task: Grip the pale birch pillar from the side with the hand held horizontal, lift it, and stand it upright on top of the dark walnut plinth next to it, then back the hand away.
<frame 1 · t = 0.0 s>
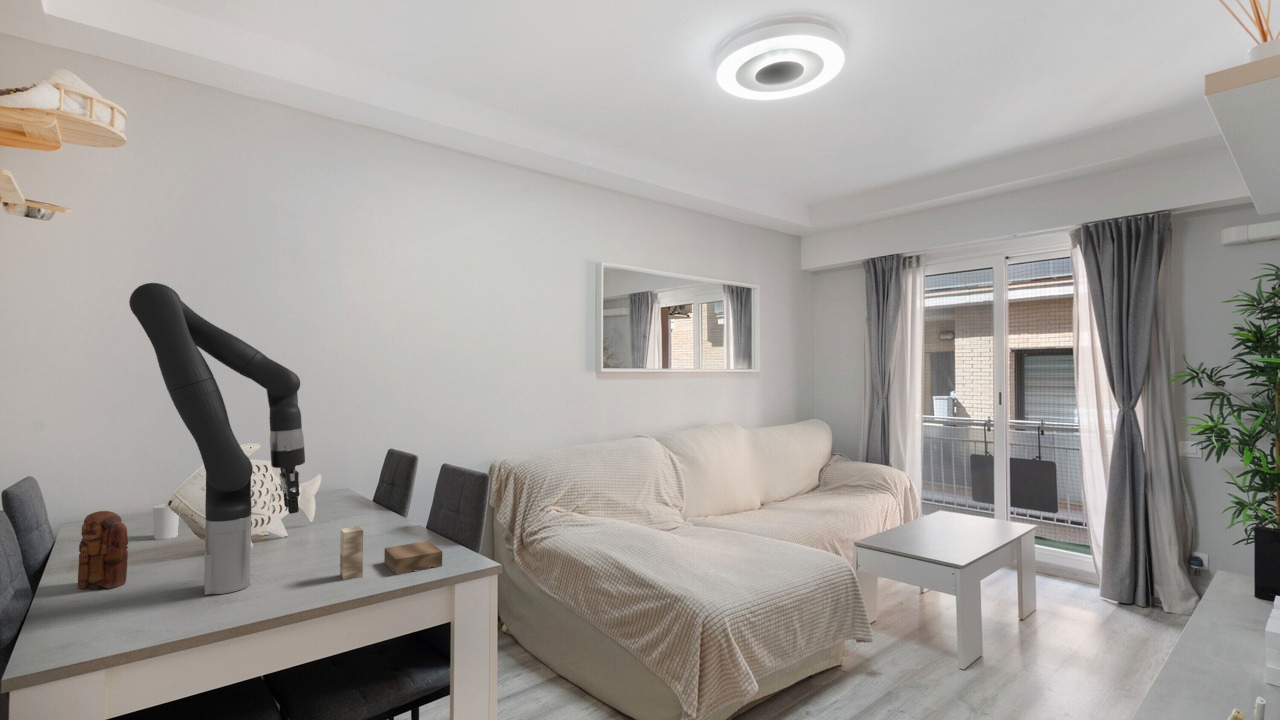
hand: (291, 509, 153), 17 cm above the table, tool pointing down, fingers open, 8 cm apart
drinking glass: (166, 537, 187), on the table
wooden figurine: (100, 586, 146), on the table
walnut plinth: (413, 564, 162), on the table
birch pillar: (351, 576, 153), on the table
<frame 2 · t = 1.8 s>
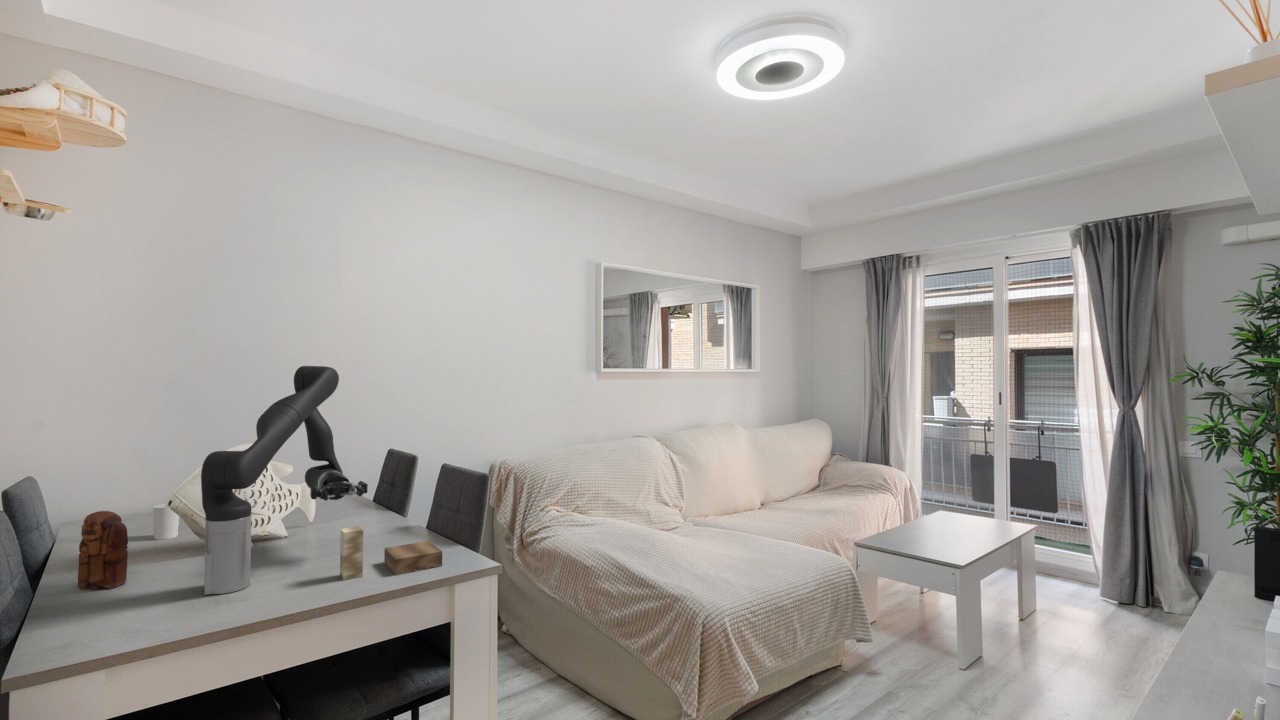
hand: (343, 494, 163), 19 cm above the table, tool horizontal, fingers open, 8 cm apart
nothing on the table moved.
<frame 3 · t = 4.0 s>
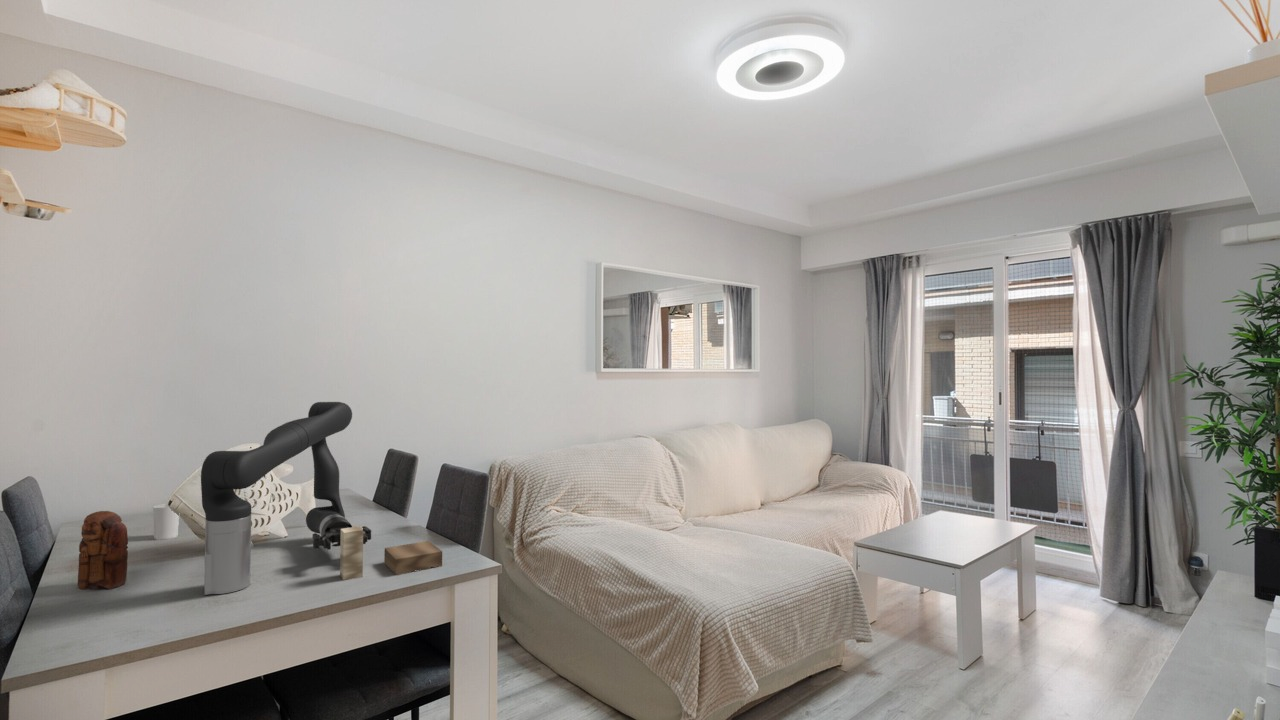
hand: (347, 543, 158), 7 cm above the table, tool horizontal, fingers open, 8 cm apart
nothing on the table moved.
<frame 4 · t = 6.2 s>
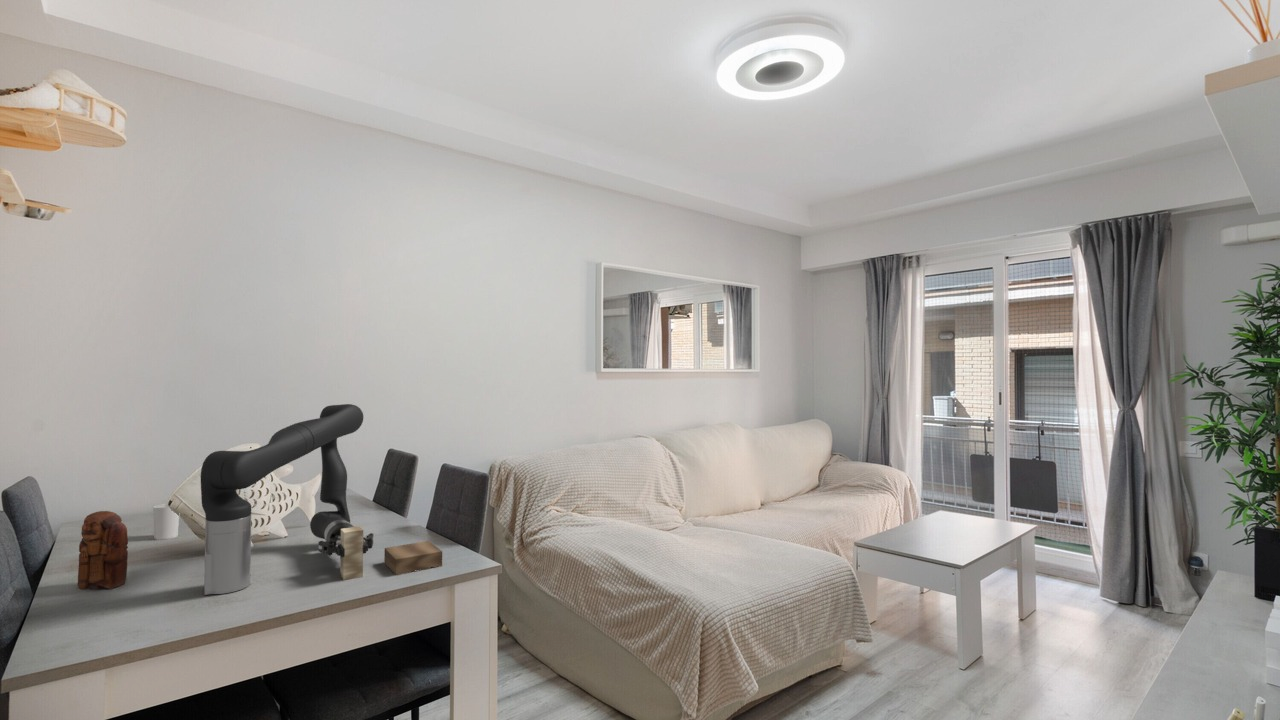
hand: (354, 551, 151), 7 cm above the table, tool horizontal, fingers closed on birch pillar, 4 cm apart
birch pillar: (351, 575, 153), on the table, touching gripper
everything else where it was.
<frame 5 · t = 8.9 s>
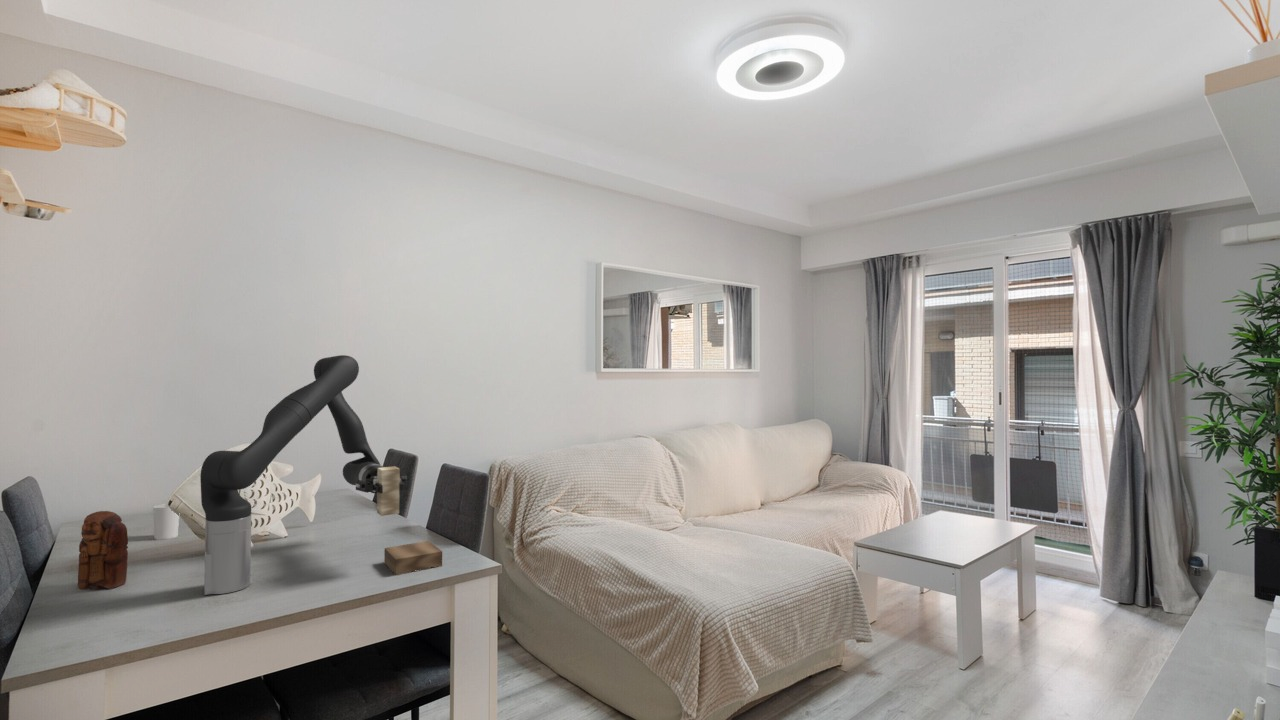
hand: (391, 488, 157), 22 cm above the table, tool horizontal, fingers closed on birch pillar, 4 cm apart
birch pillar: (388, 512, 159), point 15 cm above the table, touching gripper
everything else where it was.
when the fingers open (12 cm above the table, at t = 12.0 s): birch pillar drops 1 cm, resting on walnut plinth.
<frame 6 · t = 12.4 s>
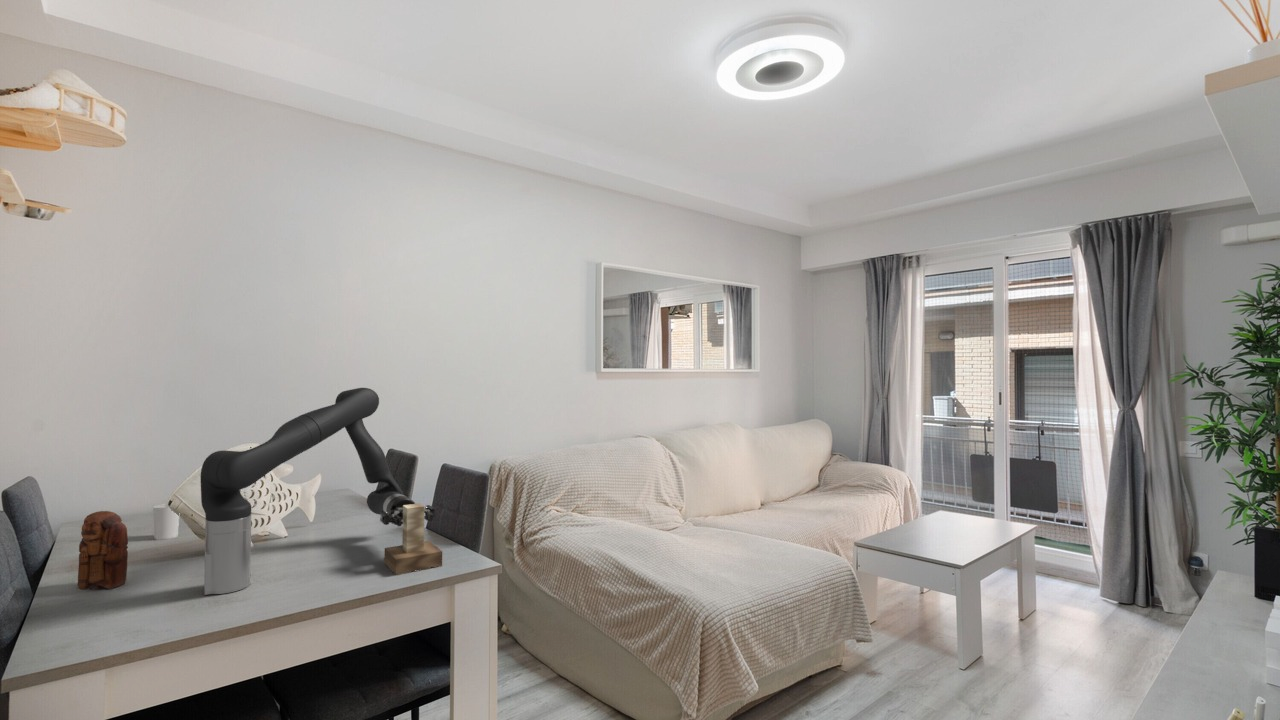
hand: (415, 520, 161), 13 cm above the table, tool horizontal, fingers open, 7 cm apart
birch pillar: (413, 549, 163), point 4 cm above the table, touching walnut plinth
everything else where it was.
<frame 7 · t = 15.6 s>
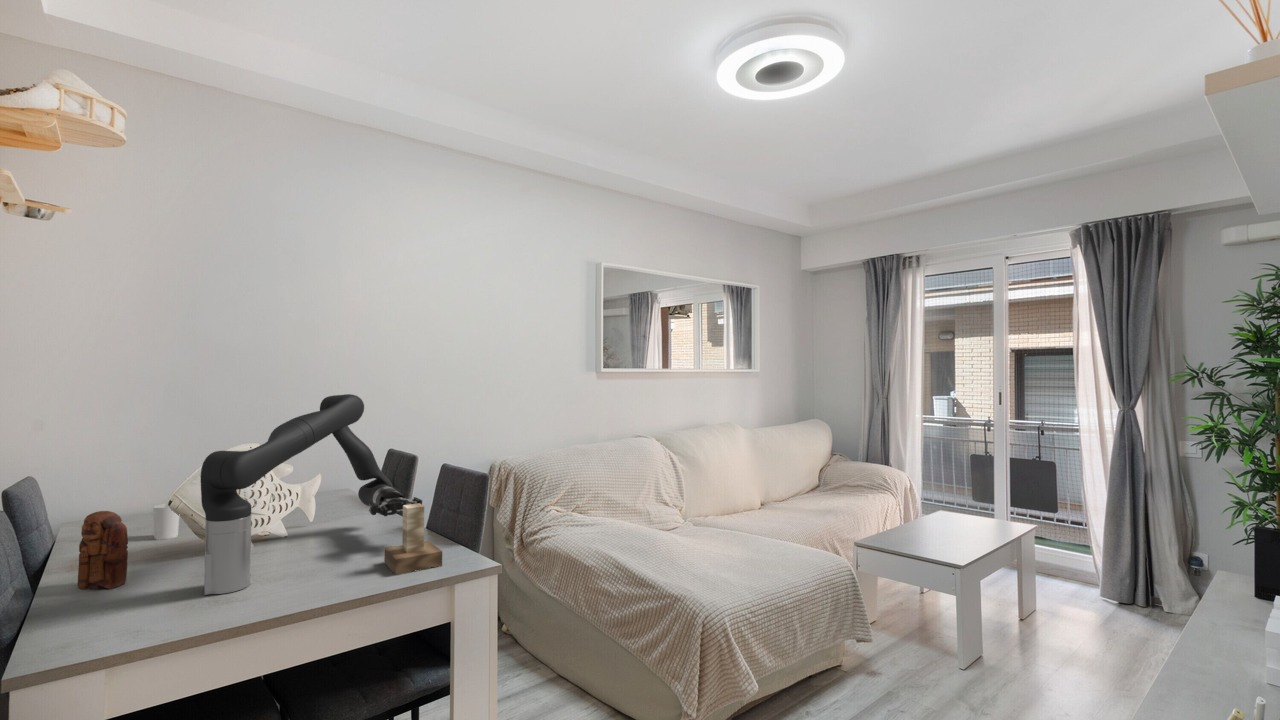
hand: (402, 510, 171), 12 cm above the table, tool horizontal, fingers open, 8 cm apart
nothing on the table moved.
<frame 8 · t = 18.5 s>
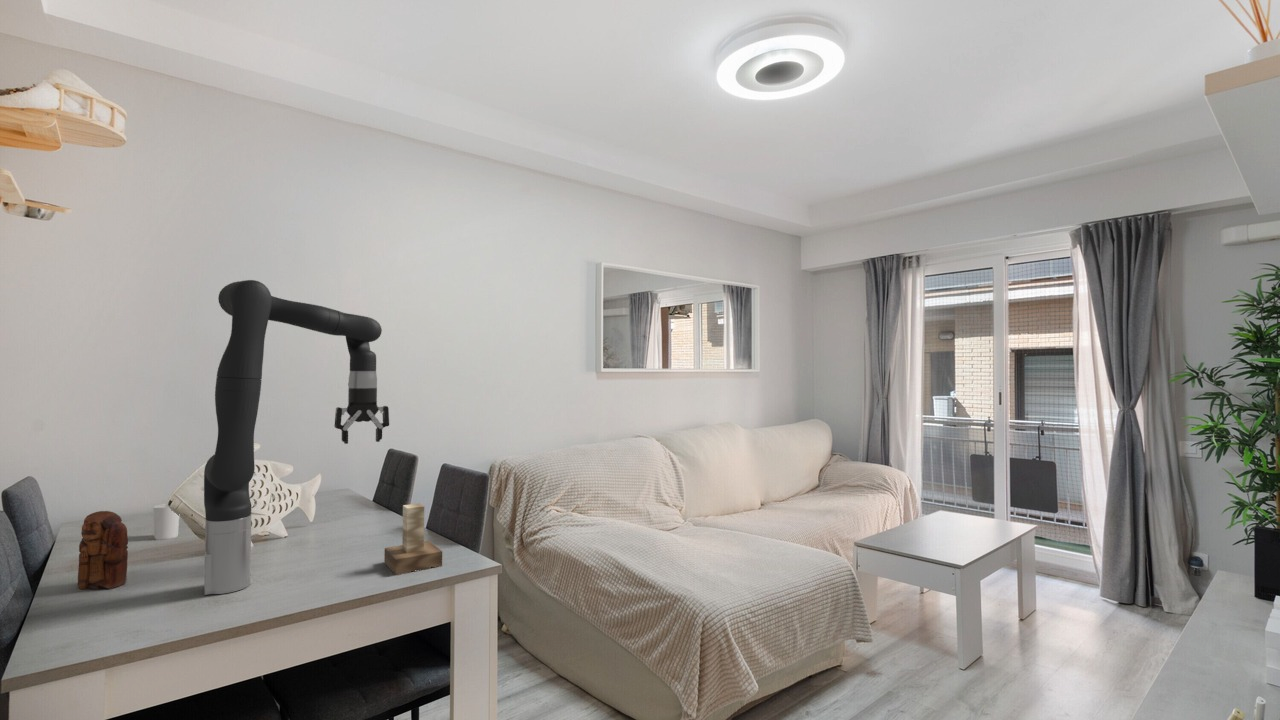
hand: (362, 442, 172), 32 cm above the table, tool pointing down, fingers open, 8 cm apart
nothing on the table moved.
at the end: birch pillar 0.0 cm off-centre on the walnut plinth, point 4.0 cm above the walnut plinth's base; birch pillar tilted 0°; birch pillar touching walnut plinth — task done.
